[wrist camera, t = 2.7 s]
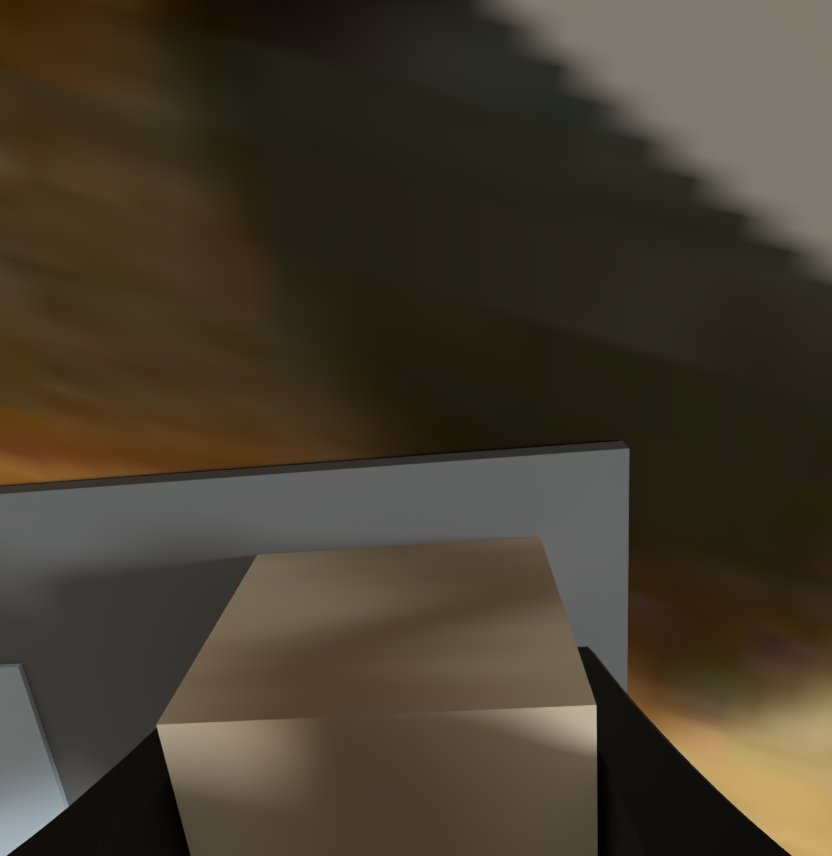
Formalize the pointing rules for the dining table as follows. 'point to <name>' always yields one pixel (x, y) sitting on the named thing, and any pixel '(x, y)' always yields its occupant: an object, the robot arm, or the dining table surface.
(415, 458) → the grey mat
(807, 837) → the dining table surface
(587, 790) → the birch brick
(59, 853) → the robot arm
